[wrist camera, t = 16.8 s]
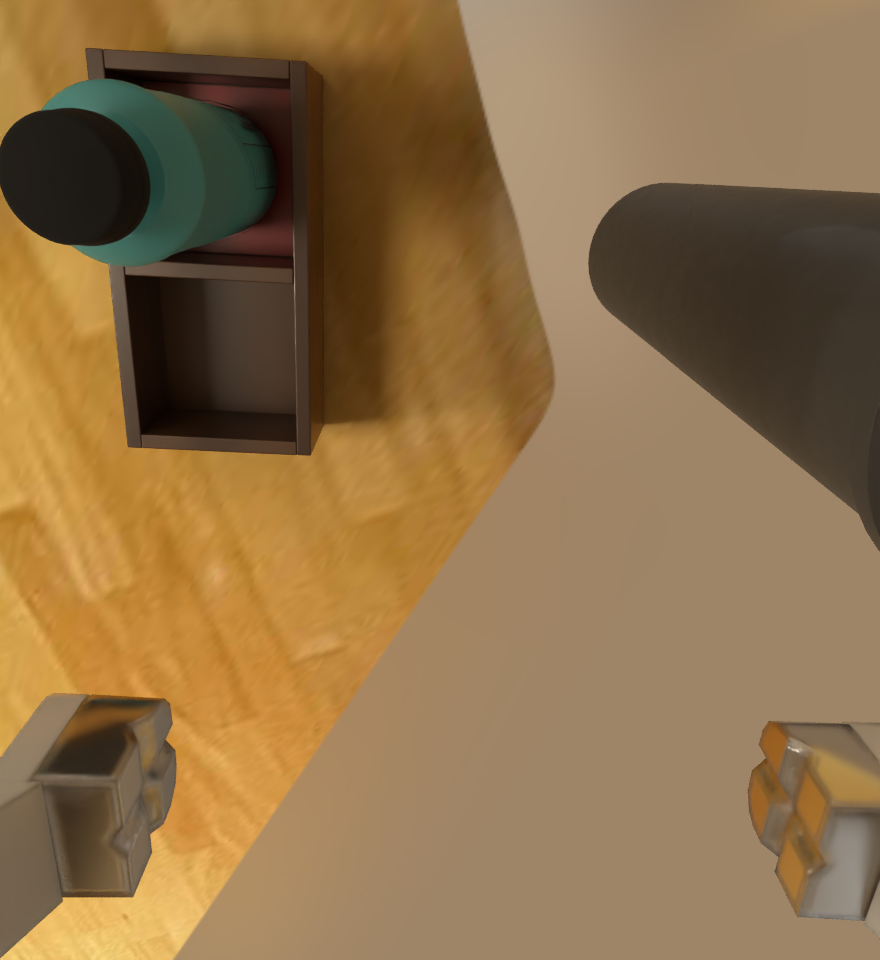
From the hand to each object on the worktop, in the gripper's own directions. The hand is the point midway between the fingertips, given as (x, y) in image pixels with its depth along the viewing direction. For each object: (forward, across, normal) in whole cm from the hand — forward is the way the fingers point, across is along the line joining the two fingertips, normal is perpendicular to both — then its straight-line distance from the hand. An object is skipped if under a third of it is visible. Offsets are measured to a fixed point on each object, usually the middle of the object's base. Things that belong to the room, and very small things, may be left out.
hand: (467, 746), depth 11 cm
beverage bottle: (+36, +12, -7) cm, 39 cm away
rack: (+37, +12, -2) cm, 39 cm away
